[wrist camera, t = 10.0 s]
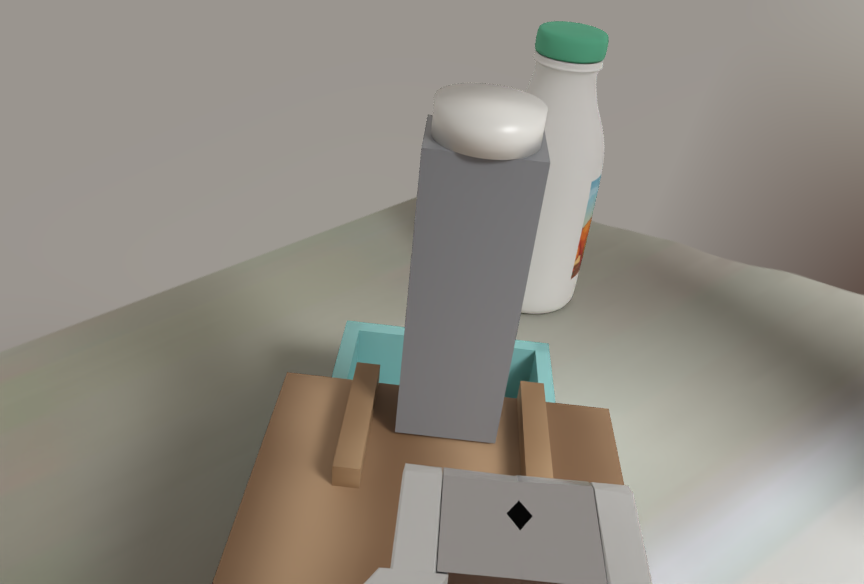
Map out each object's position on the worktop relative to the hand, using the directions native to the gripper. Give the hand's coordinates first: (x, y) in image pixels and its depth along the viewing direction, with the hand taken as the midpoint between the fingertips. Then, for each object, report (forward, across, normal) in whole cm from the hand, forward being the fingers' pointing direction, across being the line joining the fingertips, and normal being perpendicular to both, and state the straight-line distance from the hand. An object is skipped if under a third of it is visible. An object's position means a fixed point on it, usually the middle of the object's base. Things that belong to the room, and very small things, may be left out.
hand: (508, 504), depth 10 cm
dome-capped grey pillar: (+16, +1, +14) cm, 21 cm away
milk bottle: (+42, -5, +24) cm, 49 cm away
